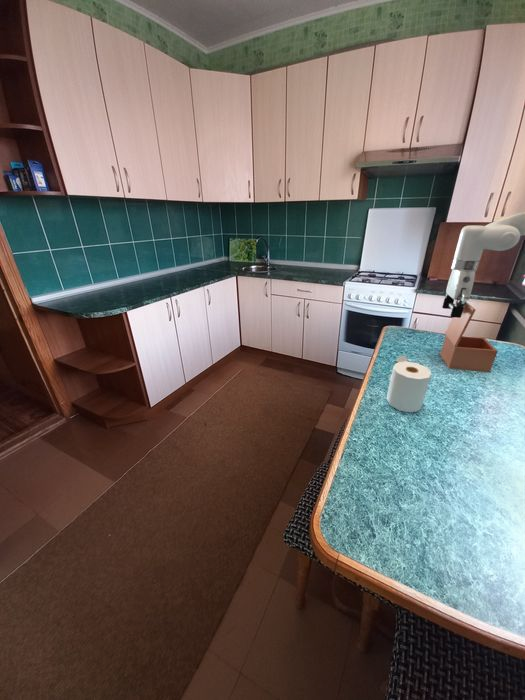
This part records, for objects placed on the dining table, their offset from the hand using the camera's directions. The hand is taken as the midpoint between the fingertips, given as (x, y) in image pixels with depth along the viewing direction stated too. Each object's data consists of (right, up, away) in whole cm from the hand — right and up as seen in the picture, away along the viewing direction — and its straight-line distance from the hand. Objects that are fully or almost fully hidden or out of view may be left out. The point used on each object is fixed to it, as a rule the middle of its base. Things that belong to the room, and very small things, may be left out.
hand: (450, 312), depth 106 cm
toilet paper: (-24, -31, -15) cm, 42 cm away
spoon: (-18, -21, +3) cm, 28 cm away
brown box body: (+9, -19, +7) cm, 22 cm away
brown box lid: (+4, -4, +1) cm, 5 cm away
